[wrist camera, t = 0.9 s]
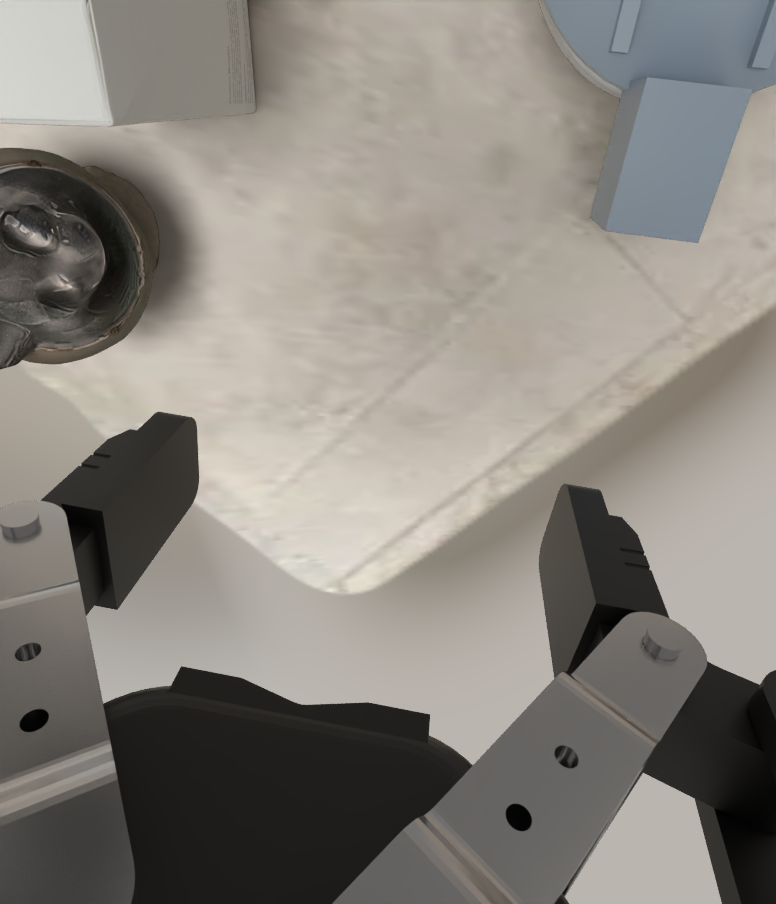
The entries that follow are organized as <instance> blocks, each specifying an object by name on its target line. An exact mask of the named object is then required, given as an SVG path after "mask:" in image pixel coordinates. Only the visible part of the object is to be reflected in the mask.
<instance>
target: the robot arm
mask: <svg viewBox="0 0 776 904" xmlns="http://www.w3.org/2000/svg"><path fill="white" fill-rule="evenodd" d="M198 484H199V466H198V443H197V426H196V422H195V420H194V419H193V418H192V417H186V416H181V415H175V414H169V413H163V412H157V413H155V414H154V415H153V416H152V417H151V418H150V419H149V420H148V421H147V422H146V423H145V424H144V425H143V426H142V427H140V428H139V429H138V430H131V429H130V430H128V431H125V432H123V433H121V434H119V435H117V436H114V437H112V438H110V439H108V440H107V441H106V442H105V443H104V444H102V445H101V446H100V447H99V448H98V449H97V450H96V451H95V452H94V454H93V455H90V456H89V457H88V458H87V459H86V460H85V461H84V462H83V463H82V465H81V466H78V467H77V468H76V469H75V470H74V471H73V472H72V473H70V474H69V475H68V476H67V477H66V478H65V479H64V480H63V481H62V482H60V483H59V484H58V485H57V486H56V487H55V488H54V489H53V490H52V491H51V492H49V494H47V495H46V496H45V497H44V498H43V499H42V500H41V501H23V502H17V503H12V504H9V505H5V506H2V507H0V904H569V903H568V901H567V900H566V898H565V896H566V894H567V893H568V891H569V889H570V888H571V886H572V885H573V883H574V881H575V880H576V878H577V877H578V875H579V873H580V872H581V870H582V869H583V867H584V865H585V864H586V862H587V860H588V859H589V857H590V856H591V854H592V852H593V851H594V849H595V848H596V846H597V844H598V843H599V841H600V840H601V838H602V837H603V835H604V833H605V832H606V830H607V829H608V827H609V826H610V824H611V822H612V821H613V819H614V818H615V816H616V815H617V813H618V811H619V810H620V808H621V806H622V805H623V804H624V802H625V800H626V799H627V797H628V796H629V794H630V792H631V791H632V789H633V788H634V786H635V785H636V783H637V782H638V780H639V778H640V777H641V775H642V774H643V773H645V774H647V775H649V776H651V777H653V778H655V779H657V780H659V781H661V782H663V783H665V784H667V785H669V786H671V787H673V788H675V789H677V790H679V791H681V792H683V793H685V794H687V795H689V796H691V797H693V798H695V801H696V805H697V809H698V813H699V817H700V820H701V825H702V828H703V832H704V836H705V839H706V844H707V847H708V851H709V855H710V859H711V863H712V867H713V870H714V874H715V878H716V882H717V886H718V890H719V894H720V897H721V901H722V904H776V670H775V671H772V672H770V673H769V674H768V675H766V677H765V678H764V680H763V681H762V683H761V684H760V685H759V684H756V683H754V682H752V681H749V680H747V679H745V678H742V677H740V676H737V675H735V674H733V673H730V672H728V671H726V670H723V669H721V668H719V667H717V666H715V665H713V664H711V663H709V662H708V661H707V657H706V654H705V651H704V649H703V647H702V645H701V644H700V642H699V641H698V640H697V639H696V638H695V636H693V635H692V633H690V632H689V631H688V630H687V629H686V628H684V627H683V626H681V625H680V624H678V623H677V622H675V621H673V620H671V619H670V618H669V616H668V613H667V611H666V608H665V605H664V603H663V600H662V597H661V595H660V592H659V590H658V587H657V584H656V582H655V579H654V577H653V574H652V571H651V570H649V567H650V566H649V564H648V561H647V558H646V556H644V551H643V548H642V545H641V543H640V540H639V538H638V535H637V534H636V532H635V531H634V530H633V529H632V528H631V527H630V526H629V525H628V524H627V523H626V522H625V521H624V520H623V518H622V517H617V516H611V515H609V514H608V511H607V508H606V505H605V502H604V499H603V496H602V493H601V491H600V490H598V489H592V488H586V487H581V486H574V485H569V484H563V485H562V486H561V488H560V490H559V492H558V495H557V498H556V501H555V504H554V507H553V510H552V513H551V516H550V519H549V522H548V525H547V528H546V531H545V534H544V537H543V540H542V544H541V548H540V555H539V572H540V579H541V586H542V593H543V600H544V607H545V615H546V622H547V629H548V635H549V643H550V650H551V657H552V663H553V671H554V678H555V679H554V680H553V681H552V682H551V683H550V684H549V685H548V686H547V687H546V688H545V689H544V690H543V691H542V693H541V694H540V695H539V696H538V697H537V698H536V699H535V700H534V701H533V702H532V703H531V704H530V705H529V706H528V707H527V709H526V710H525V711H524V712H523V713H522V714H521V715H520V716H519V717H518V718H517V719H516V720H515V721H514V722H513V723H512V724H511V726H510V727H509V728H508V729H507V730H506V731H505V732H504V733H503V734H502V735H501V737H499V738H498V739H497V740H496V742H495V743H494V744H493V745H492V746H491V747H490V748H489V749H488V750H487V751H486V752H485V753H484V754H483V755H482V756H481V757H480V759H479V760H478V761H477V762H476V763H475V764H474V765H472V764H470V762H469V761H467V760H466V759H465V758H464V757H463V756H461V755H460V754H459V753H458V752H456V751H455V750H454V749H452V748H451V747H449V746H448V745H446V744H444V743H443V742H441V741H439V740H437V739H435V738H433V737H431V736H429V721H430V715H429V714H424V713H419V712H414V711H409V710H404V709H398V708H393V707H388V706H382V705H378V704H373V703H346V704H321V705H301V704H297V703H294V702H292V701H290V700H288V699H286V698H283V697H281V696H279V695H277V694H275V693H273V692H270V691H268V690H266V689H264V688H262V687H260V686H257V685H255V684H253V683H251V682H249V681H247V680H245V679H242V678H239V677H233V676H228V675H222V674H218V673H213V672H208V671H202V670H197V669H192V668H187V667H181V668H180V670H179V672H178V674H177V676H176V678H175V679H174V681H173V683H172V685H171V686H163V687H156V688H149V689H144V690H140V691H137V692H132V693H129V694H127V695H124V696H121V697H118V698H115V699H113V700H111V701H109V702H106V703H104V704H103V701H102V696H101V691H100V686H99V681H98V675H97V670H96V665H95V660H94V655H93V650H92V645H91V640H90V634H89V629H88V624H87V619H86V615H87V614H88V613H89V611H90V610H91V609H92V608H93V606H94V605H96V606H101V607H106V608H111V609H116V610H117V609H118V608H119V607H120V605H121V604H122V602H123V601H124V599H125V598H126V597H127V595H128V594H129V592H130V591H131V590H132V588H133V587H134V585H135V584H136V583H137V581H138V580H139V578H140V577H141V576H142V574H143V573H144V571H145V570H146V568H147V567H148V566H149V564H150V563H151V561H152V560H153V559H154V557H155V556H156V554H157V553H158V551H159V550H160V549H161V547H162V546H163V544H164V543H165V542H166V540H167V539H168V538H169V536H170V535H171V533H172V532H173V531H174V529H175V528H176V526H177V525H178V523H179V522H180V521H181V519H182V518H183V516H184V515H185V514H186V512H187V511H188V509H189V508H190V507H191V505H192V503H193V501H194V499H195V497H196V494H197V490H198Z"/></svg>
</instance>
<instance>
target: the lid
mask: <svg viewBox="0 0 776 904" xmlns="http://www.w3.org/2000/svg"><path fill="white" fill-rule="evenodd" d="M543 1H544V4H545V6H546V8H547V10H548V12H549V14H550V16H551V19H552V21H553V23H554V25H555V27H556V28H557V30H558V31H559V33H560V34H561V36H562V37H563V39H564V40H565V42H566V43H567V45H568V46H569V48H570V49H571V50H572V51H573V52H574V53H575V54H576V55H577V57H578V58H579V59H580V60H581V61H582V62H583V63H584V64H585V65H586V66H587V67H588V68H590V69H591V70H592V71H593V72H595V73H596V74H597V75H598V76H600V77H601V78H602V79H604V80H605V81H607V82H609V83H611V84H612V85H614V86H616V87H618V88H620V89H621V90H623V91H622V95H621V98H620V102H619V106H618V110H617V114H616V118H615V122H614V125H613V129H612V133H611V137H610V141H609V145H608V149H607V152H606V156H605V160H604V164H603V168H602V172H601V176H600V180H599V183H598V187H597V191H596V195H595V199H594V203H593V207H592V210H591V214H590V218H591V219H592V220H593V221H594V222H596V223H597V224H598V225H599V226H600V227H601V228H602V229H603V230H605V231H609V232H617V233H624V234H632V235H640V236H648V237H655V238H663V239H671V240H679V241H686V242H694V243H698V242H699V239H700V236H701V234H702V231H703V228H704V225H705V222H706V219H707V217H708V214H709V211H710V208H711V205H712V202H713V200H714V197H715V194H716V191H717V188H718V185H719V183H720V180H721V177H722V174H723V171H724V168H725V166H726V163H727V160H728V157H729V154H730V151H731V149H732V146H733V143H734V140H735V137H736V134H737V132H738V129H739V126H740V123H741V120H742V117H743V115H744V112H745V109H746V106H747V103H748V100H749V98H750V95H751V93H753V92H755V91H758V90H761V89H763V88H766V87H769V86H771V85H774V84H776V0H543Z"/></svg>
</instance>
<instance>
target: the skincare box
mask: <svg viewBox="0 0 776 904" xmlns="http://www.w3.org/2000/svg"><path fill="white" fill-rule="evenodd" d="M255 111H256V104H255V90H254V78H253V66H252V54H251V42H250V30H249V18H248V6H247V0H0V123H6V124H29V125H59V126H94V127H112V126H120V125H129V124H139V123H151V122H161V121H172V120H185V119H195V118H206V117H218V116H230V115H240V114H248V113H254V112H255Z"/></svg>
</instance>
